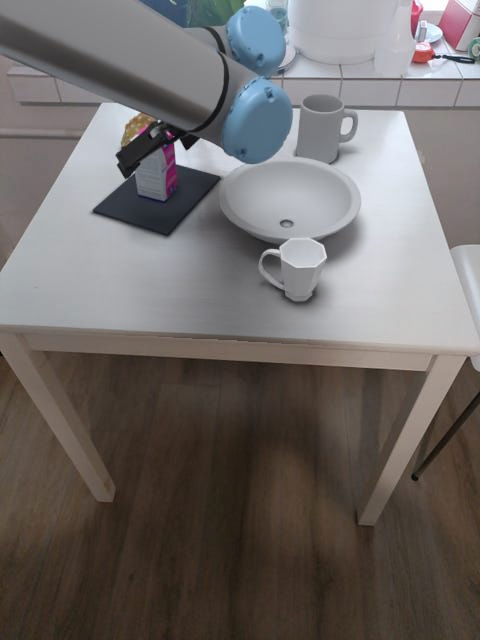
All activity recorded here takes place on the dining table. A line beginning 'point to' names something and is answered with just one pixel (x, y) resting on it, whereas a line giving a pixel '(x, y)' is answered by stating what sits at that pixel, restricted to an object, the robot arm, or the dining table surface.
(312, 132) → the mug
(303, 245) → the cup
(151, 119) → the seashell
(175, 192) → the mat
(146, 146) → the robot arm
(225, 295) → the dining table surface
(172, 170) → the supplement box
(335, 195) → the white sink basin
